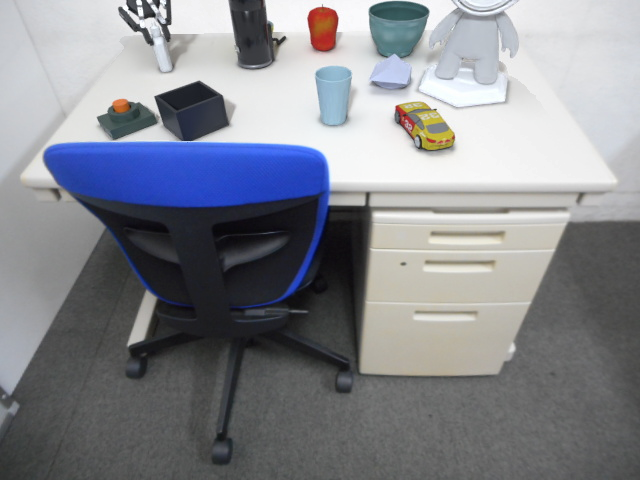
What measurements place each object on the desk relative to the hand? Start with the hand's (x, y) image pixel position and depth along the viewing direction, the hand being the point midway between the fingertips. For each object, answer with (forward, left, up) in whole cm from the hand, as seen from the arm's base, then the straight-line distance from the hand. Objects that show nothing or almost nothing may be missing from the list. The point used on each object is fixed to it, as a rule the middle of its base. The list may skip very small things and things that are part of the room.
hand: (160, 42), depth 107 cm
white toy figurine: (-49, +60, -8) cm, 78 cm away
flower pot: (-53, +34, -8) cm, 64 cm away
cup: (-15, +50, -8) cm, 53 cm away
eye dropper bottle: (0, -2, -8) cm, 8 cm away
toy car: (-25, +67, -8) cm, 72 cm away
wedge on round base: (-37, +47, -8) cm, 61 cm away
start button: (+20, +20, -4) cm, 28 cm away
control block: (+20, +20, -8) cm, 29 cm away
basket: (+9, +31, -8) cm, 33 cm away
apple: (-40, +18, -8) cm, 45 cm away
